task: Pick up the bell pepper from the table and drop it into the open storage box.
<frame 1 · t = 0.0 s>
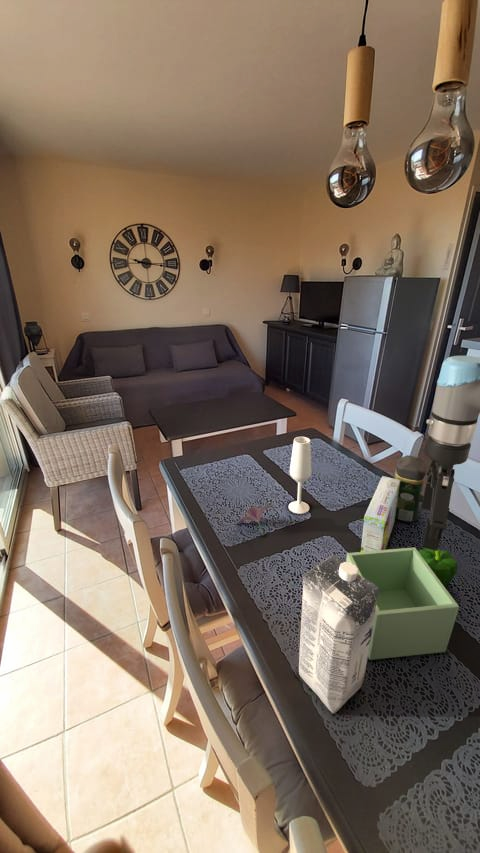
hand: (428, 527, 78), 19 cm above the table, tool pointing down, fingers open, 13 cm apart
bell pepper: (432, 582, 87), on the table
snack box: (377, 541, 101), on the table
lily: (255, 527, 108), on the table
open storage box: (389, 620, 78), on the table
juice carton: (328, 682, 67), on the table
champagne flute: (298, 507, 116), on the table
coffee jar: (402, 513, 112), on the table
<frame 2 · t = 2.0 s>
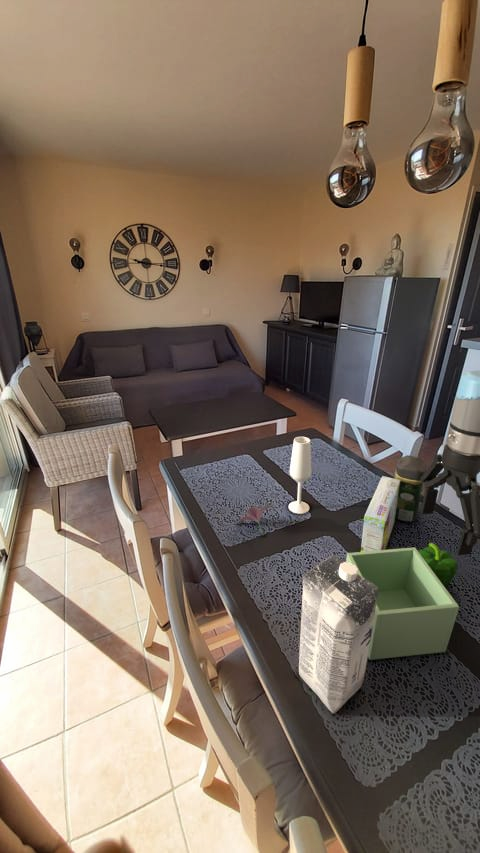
hand: (443, 531, 81), 15 cm above the table, tool pointing down, fingers open, 13 cm apart
nothing on the table moved.
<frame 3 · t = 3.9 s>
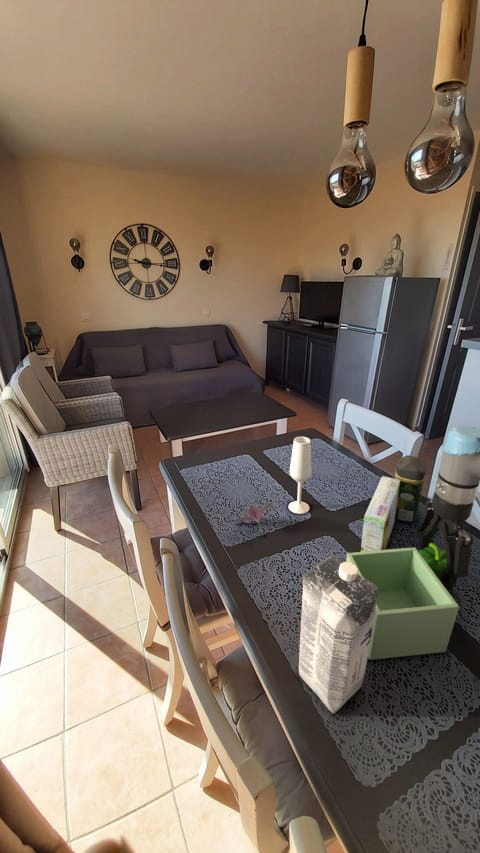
hand: (433, 574, 87), 2 cm above the table, tool pointing down, fingers closed on bell pepper, 8 cm apart
bell pepper: (432, 582, 87), on the table, touching gripper
everything else where it was.
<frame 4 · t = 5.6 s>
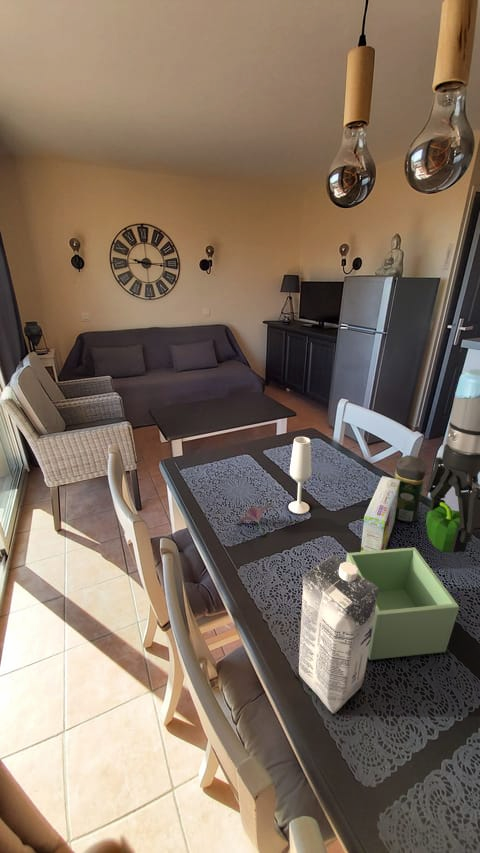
hand: (445, 536, 82), 14 cm above the table, tool pointing down, fingers closed on bell pepper, 8 cm apart
bell pepper: (443, 544, 82), point 12 cm above the table, touching gripper
everything else where it was.
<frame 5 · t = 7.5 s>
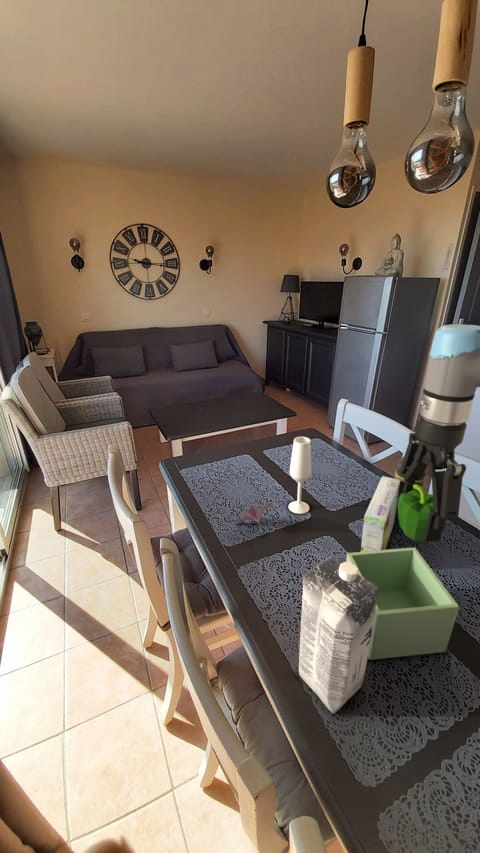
hand: (418, 524, 71), 24 cm above the table, tool pointing down, fingers closed on bell pepper, 8 cm apart
bell pepper: (416, 533, 72), point 21 cm above the table, touching gripper
everything else where it was.
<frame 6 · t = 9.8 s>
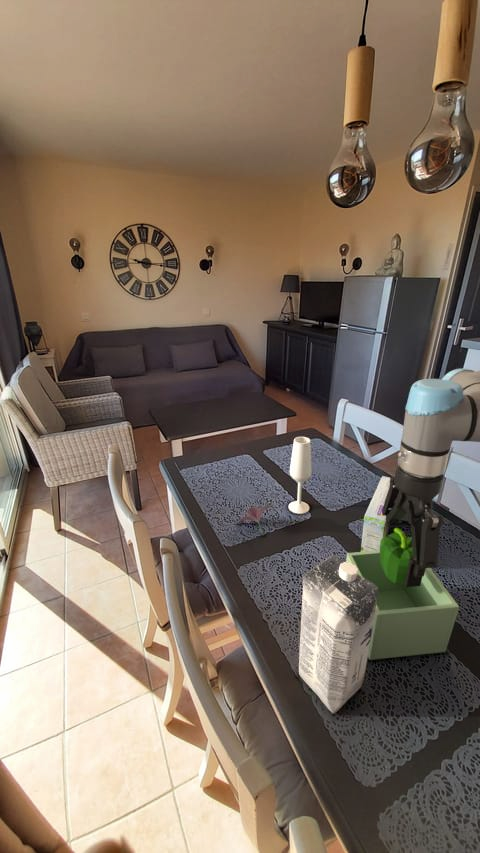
hand: (400, 566, 72), 16 cm above the table, tool pointing down, fingers closed on bell pepper, 8 cm apart
bell pepper: (398, 575, 73), point 13 cm above the table, touching gripper
everything else where it was.
when the fingers open (13 cm above the table, at t = 11.0 s): bell pepper drops 10 cm, resting on open storage box.
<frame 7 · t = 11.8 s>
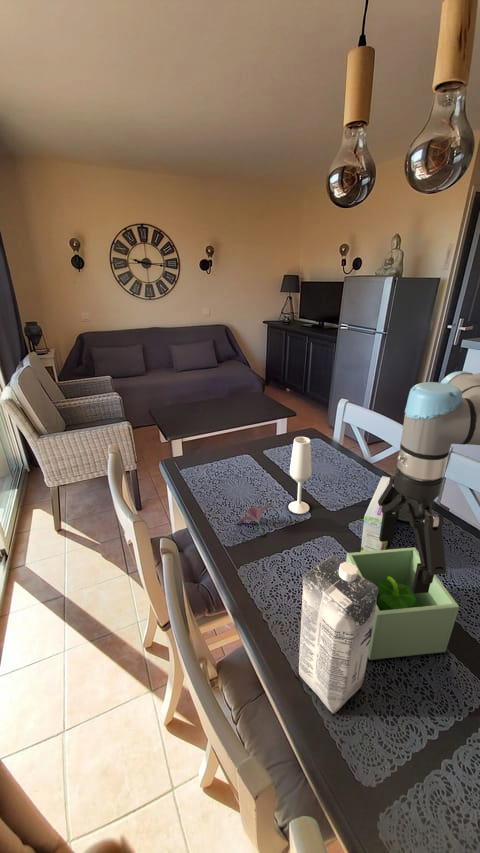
hand: (401, 563, 72), 16 cm above the table, tool pointing down, fingers open, 13 cm apart
bell pepper: (391, 619, 78), resting on open storage box
everything else where it was.
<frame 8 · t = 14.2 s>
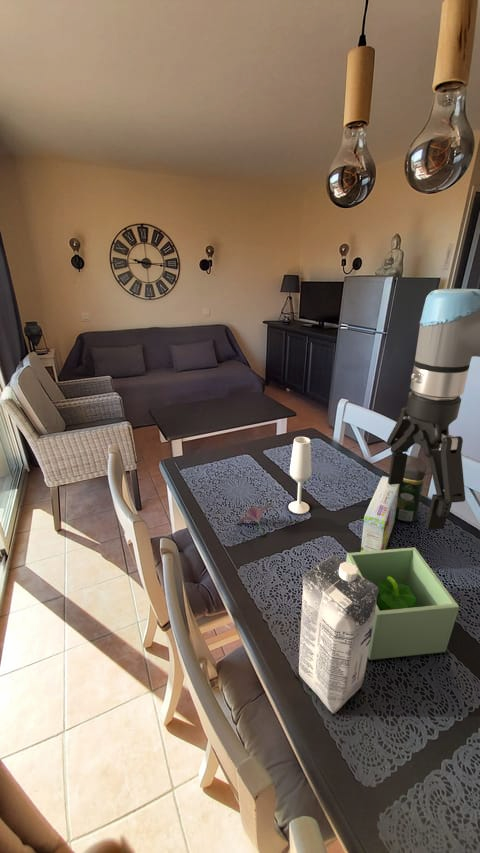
hand: (412, 503, 66), 31 cm above the table, tool pointing down, fingers open, 13 cm apart
nothing on the table moved.
at the end: bell pepper inside the target area in the open storage box (0.2 cm from its centre), point 0.4 cm above the open storage box's base; the gripper is holding nothing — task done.
